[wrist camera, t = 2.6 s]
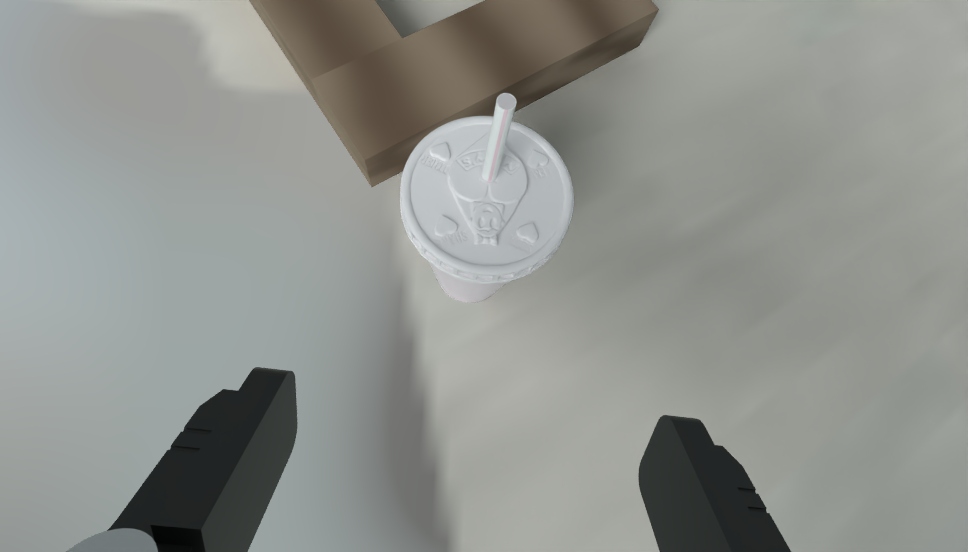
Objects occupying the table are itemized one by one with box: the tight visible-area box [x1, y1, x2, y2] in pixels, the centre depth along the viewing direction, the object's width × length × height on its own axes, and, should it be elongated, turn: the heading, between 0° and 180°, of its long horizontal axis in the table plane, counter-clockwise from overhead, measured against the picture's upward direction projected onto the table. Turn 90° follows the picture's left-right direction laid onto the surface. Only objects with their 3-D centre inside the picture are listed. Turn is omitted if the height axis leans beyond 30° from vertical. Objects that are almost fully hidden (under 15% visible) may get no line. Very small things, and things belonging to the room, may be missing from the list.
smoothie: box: [400, 93, 574, 303], centre depth 20 cm, size 6×6×14 cm
